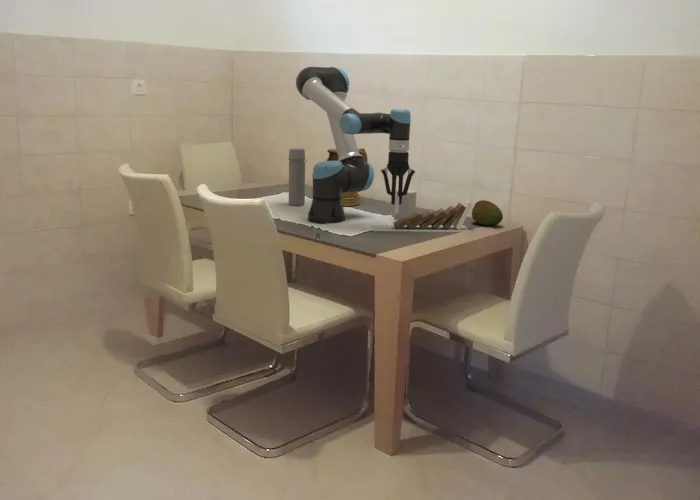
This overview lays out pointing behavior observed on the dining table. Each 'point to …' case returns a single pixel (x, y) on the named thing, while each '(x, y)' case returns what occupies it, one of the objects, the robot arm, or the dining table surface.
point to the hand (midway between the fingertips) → (395, 212)
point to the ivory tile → (462, 215)
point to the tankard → (348, 197)
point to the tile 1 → (407, 220)
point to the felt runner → (418, 228)
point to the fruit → (486, 213)
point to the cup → (407, 204)
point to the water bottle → (296, 176)
